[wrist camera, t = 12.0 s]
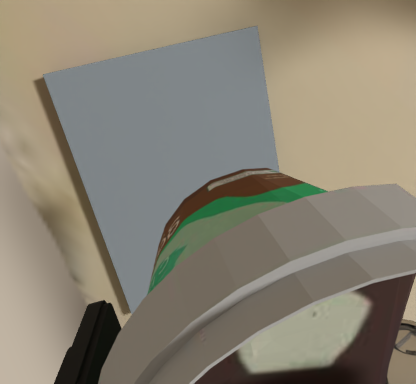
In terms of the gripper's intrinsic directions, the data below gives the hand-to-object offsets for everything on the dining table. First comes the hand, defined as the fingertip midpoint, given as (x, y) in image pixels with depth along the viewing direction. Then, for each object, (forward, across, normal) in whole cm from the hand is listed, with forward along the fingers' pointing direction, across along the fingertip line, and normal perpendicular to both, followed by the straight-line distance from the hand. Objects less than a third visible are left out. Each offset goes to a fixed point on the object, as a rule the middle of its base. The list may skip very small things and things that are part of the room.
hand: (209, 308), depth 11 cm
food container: (+4, 0, 0) cm, 4 cm away
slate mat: (+16, 0, 0) cm, 16 cm away
